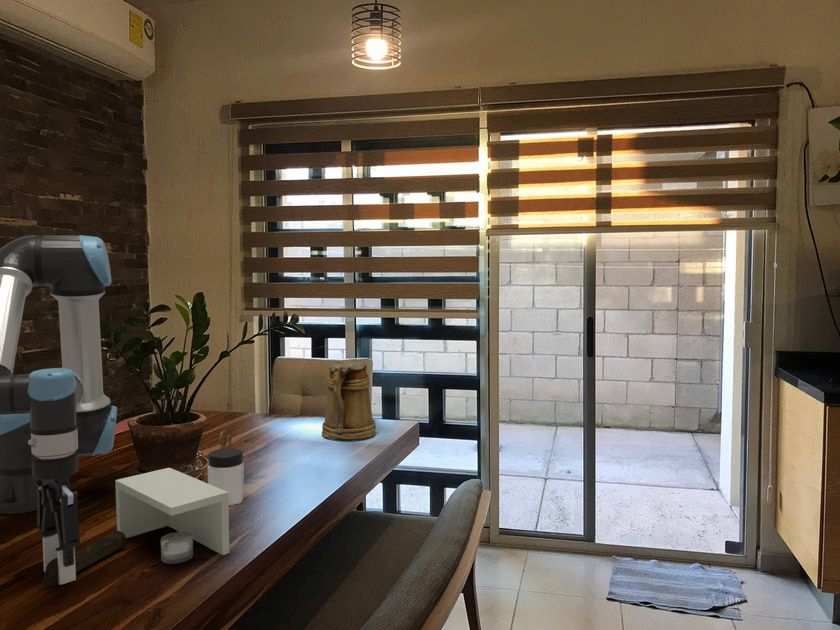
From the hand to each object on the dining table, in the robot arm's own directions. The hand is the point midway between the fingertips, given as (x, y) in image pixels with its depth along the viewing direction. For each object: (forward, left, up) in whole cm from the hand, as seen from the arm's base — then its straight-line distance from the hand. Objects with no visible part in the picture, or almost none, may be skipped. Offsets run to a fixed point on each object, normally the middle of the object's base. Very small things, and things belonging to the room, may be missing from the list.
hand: (59, 575), depth 127 cm
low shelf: (+2, +21, 0) cm, 21 cm away
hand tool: (0, +5, -1) cm, 5 cm away
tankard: (-38, +104, -1) cm, 111 cm away
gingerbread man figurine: (-32, +54, -1) cm, 63 cm away
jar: (-13, +43, 0) cm, 45 cm away
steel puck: (+8, +19, 0) cm, 21 cm away
